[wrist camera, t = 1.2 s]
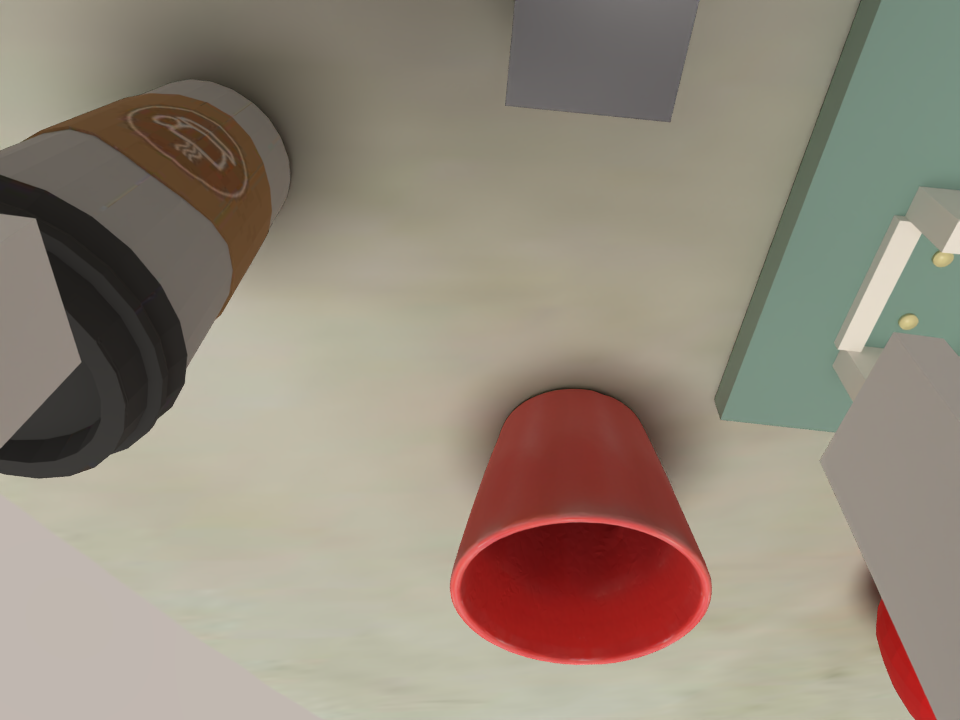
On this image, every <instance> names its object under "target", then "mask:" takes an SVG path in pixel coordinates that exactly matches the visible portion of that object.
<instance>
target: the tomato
mask: <svg viewBox="0 0 960 720" xmlns="http://www.w3.org/2000/svg"><path fill="white" fill-rule="evenodd" d="M876 636H877V640H878V644H879V648H880V651H881V655H882V658H883V661H884V664H885V666H886V669H887V671H888V674H889V676H890V679H891V681H892V684H893V686H894V688H895V690H896V691H897V693H898V695H899V697H900V698H901V700H902V701H903V703H904V705H905V706H906V708H907V709H908V711H909V713H910V714H911V715H912V716H913V718H914V719H915V720H937V719H936V717H935V715H934V712H933V710H932V708H931V706H930V704H929V701H928V699H927V697H926V695H925V693H924V690H923V688H922V686H921V684H920V681H919V679H918V677H917V675H916V673H915V670H914V668H913V666H912V664H911V662H910V659H909V657H908V655H907V653H906V651H905V648H904V646H903V644H902V642H901V639H900V637H899V635H898V633H897V631H896V628H895V626H894V624H893V622H892V620H891V617H890V615H889V613H888V611H887V609H886V606H885V604H884V602H883V600H882V599H881V601H880V603H879V606H878V612H877V623H876Z"/></svg>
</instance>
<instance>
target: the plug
mask: <svg viewBox="0 0 960 720" xmlns="http://www.w3.org/2000/svg"><path fill="white" fill-rule="evenodd" d="M698 4H699V0H515V6H514V17H513V28H512V38H511V49H510V60H509V71H508V81H507V92H506V103H505V106H514V107H524V108H534V109H544V110H554V111H564V112H574V113H584V114H594V115H604V116H614V117H624V118H634V119H644V120H654V121H664V122H670V121H671V117H672V113H673V109H674V104H675V100H676V96H677V92H678V88H679V84H680V79H681V75H682V71H683V67H684V63H685V59H686V54H687V50H688V46H689V42H690V38H691V33H692V29H693V25H694V21H695V17H696V13H697V8H698Z"/></svg>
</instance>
